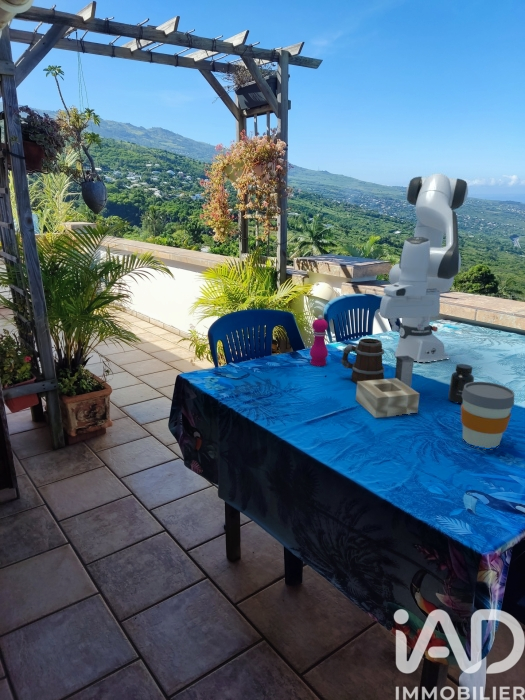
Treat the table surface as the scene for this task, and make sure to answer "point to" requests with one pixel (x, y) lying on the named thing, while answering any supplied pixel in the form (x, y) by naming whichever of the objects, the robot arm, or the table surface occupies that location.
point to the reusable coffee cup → (485, 413)
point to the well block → (387, 397)
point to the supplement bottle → (460, 382)
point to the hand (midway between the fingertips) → (407, 330)
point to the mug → (365, 360)
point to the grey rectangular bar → (404, 369)
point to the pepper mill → (319, 342)
